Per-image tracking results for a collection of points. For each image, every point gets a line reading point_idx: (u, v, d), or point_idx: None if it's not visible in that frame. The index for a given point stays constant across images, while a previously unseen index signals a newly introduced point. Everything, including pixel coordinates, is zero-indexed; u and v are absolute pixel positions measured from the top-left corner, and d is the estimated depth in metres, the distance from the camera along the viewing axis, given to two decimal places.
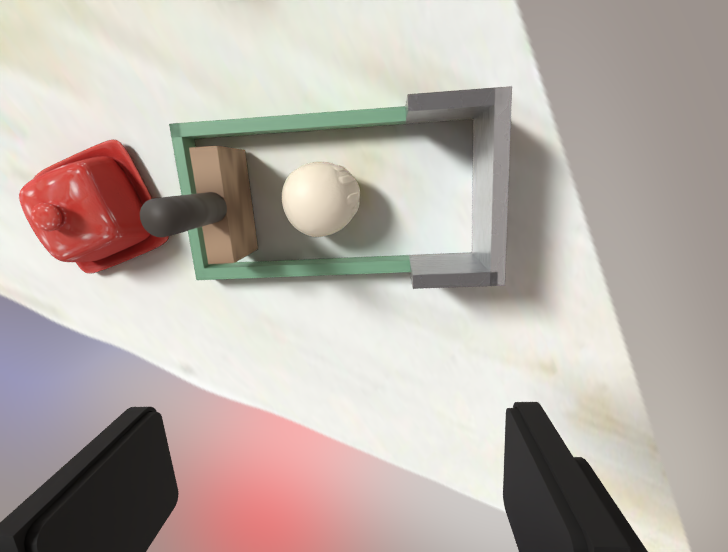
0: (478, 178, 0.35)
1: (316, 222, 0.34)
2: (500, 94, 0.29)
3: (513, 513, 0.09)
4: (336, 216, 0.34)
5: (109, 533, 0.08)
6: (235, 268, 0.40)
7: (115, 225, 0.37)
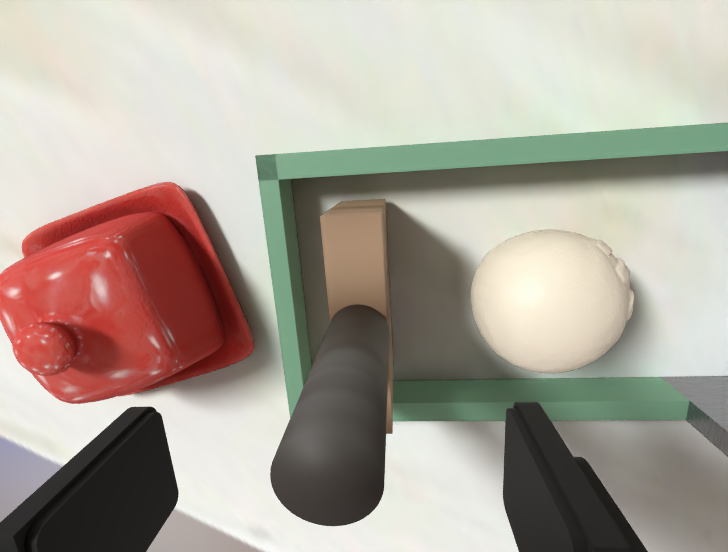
0: None
1: (568, 361, 0.17)
2: None
3: (513, 513, 0.09)
4: (607, 348, 0.17)
5: (109, 533, 0.08)
6: None
7: (173, 351, 0.19)
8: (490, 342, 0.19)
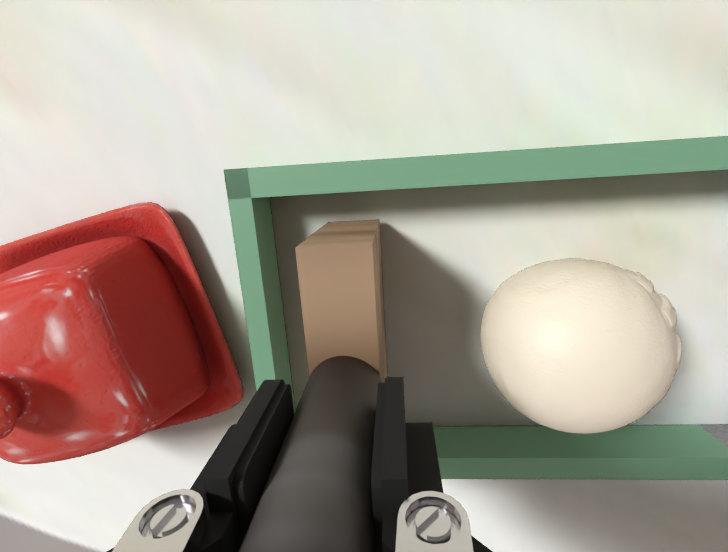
0: None
1: (604, 424, 0.13)
2: None
3: None
4: (652, 407, 0.14)
5: None
6: None
7: (145, 408, 0.16)
8: (505, 394, 0.15)
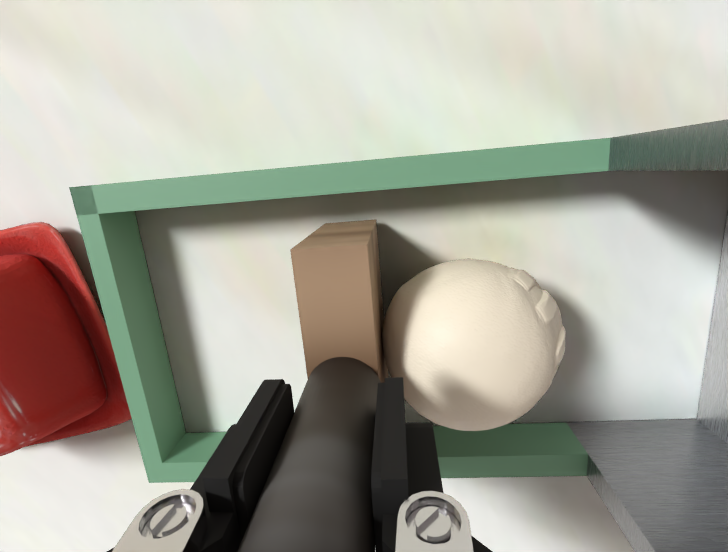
0: None
1: (486, 421, 0.14)
2: None
3: None
4: (532, 402, 0.14)
5: None
6: None
7: (20, 423, 0.17)
8: None
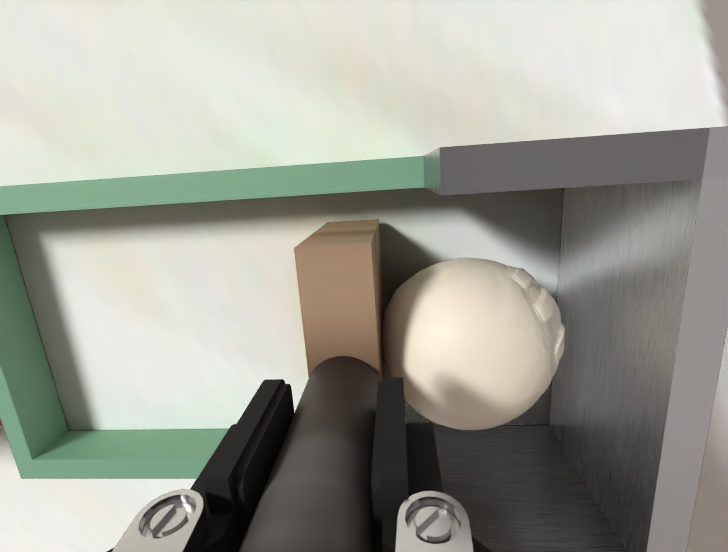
0: (584, 310, 0.16)
1: (485, 420, 0.14)
2: (723, 148, 0.09)
3: None
4: (532, 400, 0.14)
5: None
6: (91, 461, 0.20)
7: None
8: None
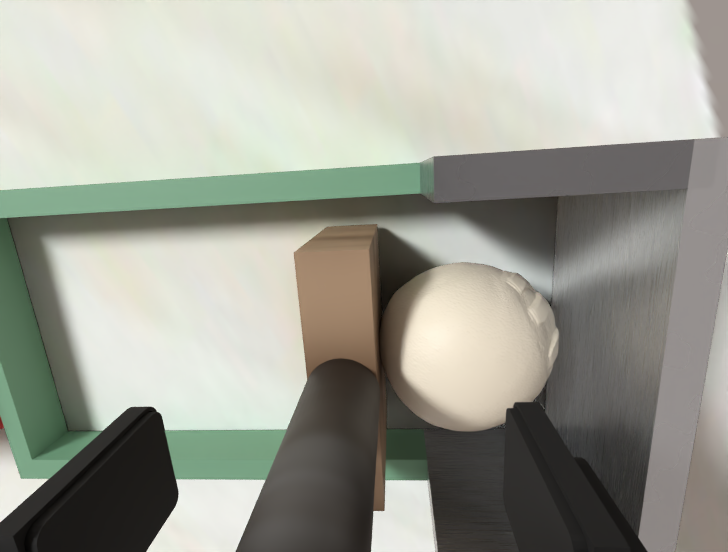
0: (577, 314, 0.16)
1: (480, 421, 0.14)
2: (708, 159, 0.10)
3: (513, 513, 0.09)
4: None
5: (109, 533, 0.08)
6: None
7: None
8: (399, 397, 0.16)
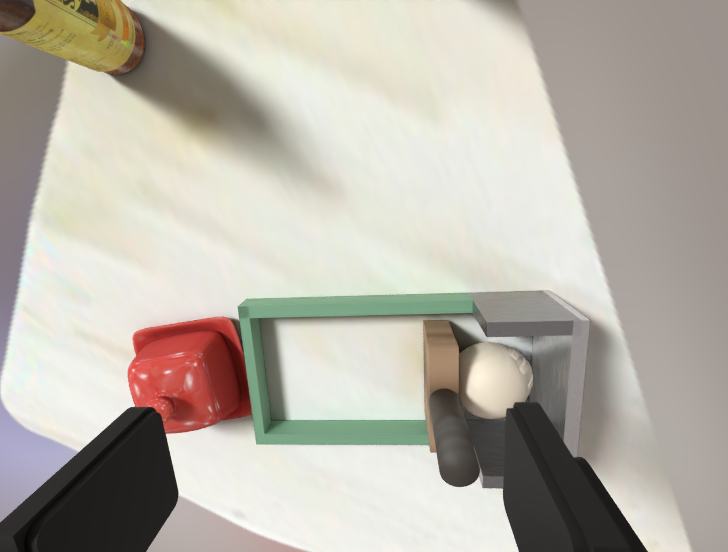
0: (542, 366, 0.36)
1: (499, 414, 0.34)
2: (578, 326, 0.29)
3: (513, 513, 0.09)
4: None
5: (109, 533, 0.08)
6: (296, 435, 0.40)
7: (218, 413, 0.37)
8: (462, 404, 0.36)
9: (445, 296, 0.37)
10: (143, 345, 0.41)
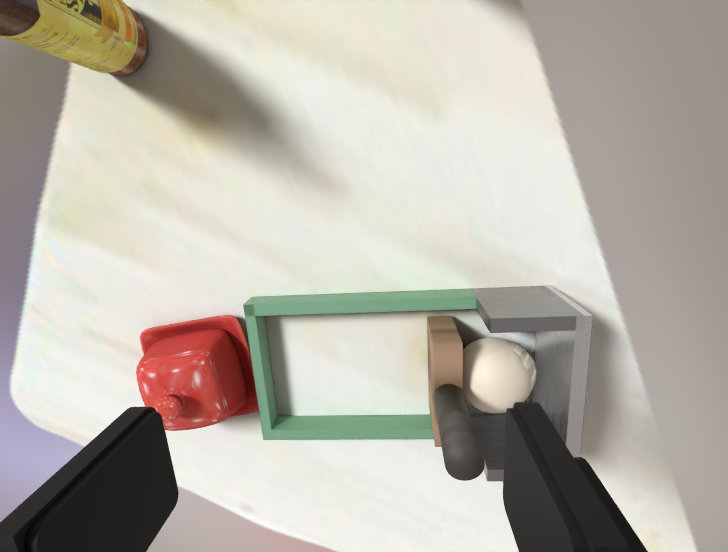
0: (545, 361, 0.36)
1: (503, 408, 0.34)
2: (581, 321, 0.30)
3: (513, 513, 0.09)
4: (522, 401, 0.34)
5: (109, 533, 0.08)
6: (302, 430, 0.41)
7: (225, 410, 0.38)
8: (466, 398, 0.36)
9: (449, 292, 0.37)
10: (150, 343, 0.41)
